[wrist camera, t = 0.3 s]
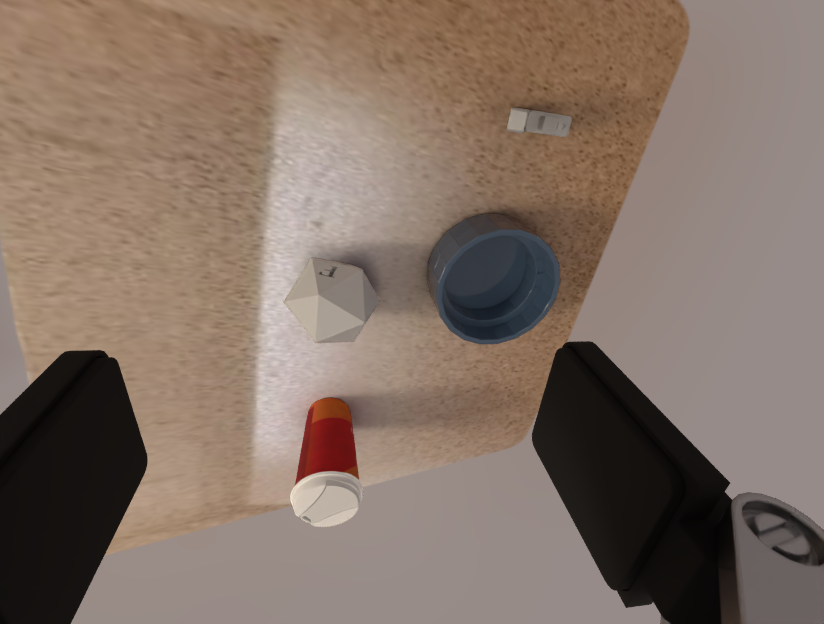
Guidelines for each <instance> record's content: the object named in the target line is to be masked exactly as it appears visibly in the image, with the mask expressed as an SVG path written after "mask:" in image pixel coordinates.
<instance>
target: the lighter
mask: <svg viewBox="0 0 824 624" xmlns="http://www.w3.org/2000/svg"><path fill="white" fill-rule="evenodd" d="M571 121H572V118H571V116H565V115H560V114H554V113H548V112H541V111H535V110H529V109H522V108H516V107H514V108H512V109H511V113H510V117H509V122H508V126H507V131H511V132H517V133H522V134H523V133H524V132H525V131H527V132H533V133H540V134H547V135H554V136H561V137H566V136H567V134H568V131H569V128H570V124H571Z"/></svg>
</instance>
